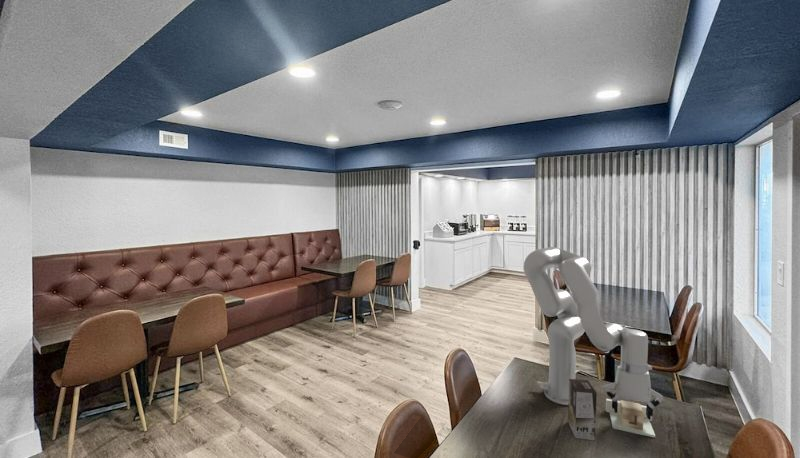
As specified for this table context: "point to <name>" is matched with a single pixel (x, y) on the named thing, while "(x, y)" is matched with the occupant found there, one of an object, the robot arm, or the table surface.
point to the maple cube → (631, 414)
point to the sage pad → (646, 428)
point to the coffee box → (582, 409)
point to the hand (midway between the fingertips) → (631, 413)
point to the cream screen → (610, 409)
